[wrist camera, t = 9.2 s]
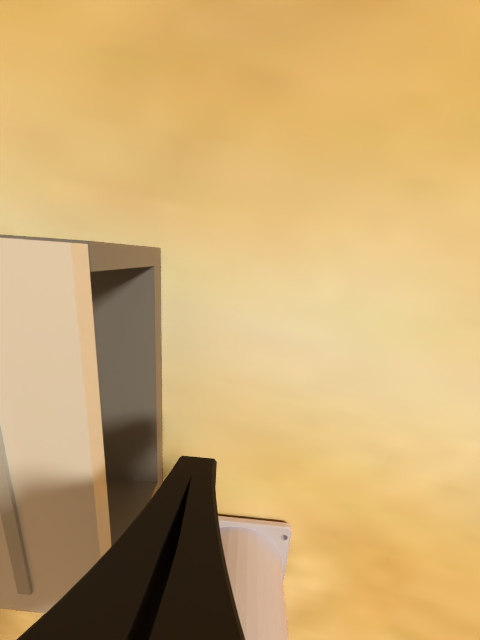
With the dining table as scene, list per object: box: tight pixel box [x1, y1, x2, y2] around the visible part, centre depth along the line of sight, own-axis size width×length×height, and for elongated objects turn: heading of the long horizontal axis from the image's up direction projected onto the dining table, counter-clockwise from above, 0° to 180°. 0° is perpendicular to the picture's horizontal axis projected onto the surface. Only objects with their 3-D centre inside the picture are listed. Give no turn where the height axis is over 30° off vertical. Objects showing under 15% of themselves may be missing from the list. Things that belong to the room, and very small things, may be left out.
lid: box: [0, 238, 111, 613], centre depth 10 cm, size 17×7×1 cm, turn 176°
